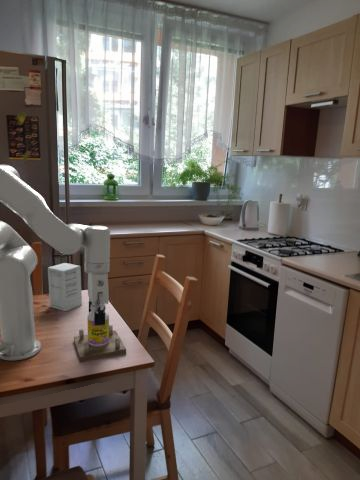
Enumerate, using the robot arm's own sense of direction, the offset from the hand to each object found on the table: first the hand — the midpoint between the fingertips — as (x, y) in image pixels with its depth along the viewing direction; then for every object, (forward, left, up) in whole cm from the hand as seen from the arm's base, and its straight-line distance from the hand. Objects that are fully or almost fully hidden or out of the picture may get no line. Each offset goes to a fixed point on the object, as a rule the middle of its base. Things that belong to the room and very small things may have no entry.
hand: (96, 318), depth 117 cm
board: (0, -1, -10) cm, 10 cm away
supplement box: (+21, +33, -10) cm, 41 cm away
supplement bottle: (0, 0, -9) cm, 9 cm away
